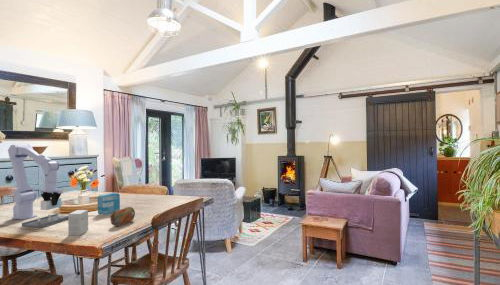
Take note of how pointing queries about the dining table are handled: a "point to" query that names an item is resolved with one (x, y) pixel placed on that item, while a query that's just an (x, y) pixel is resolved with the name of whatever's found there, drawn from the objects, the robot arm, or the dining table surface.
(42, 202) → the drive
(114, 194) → the blue box
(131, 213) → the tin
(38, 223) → the pin tray
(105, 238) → the dining table surface
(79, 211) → the small box
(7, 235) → the dining table surface
